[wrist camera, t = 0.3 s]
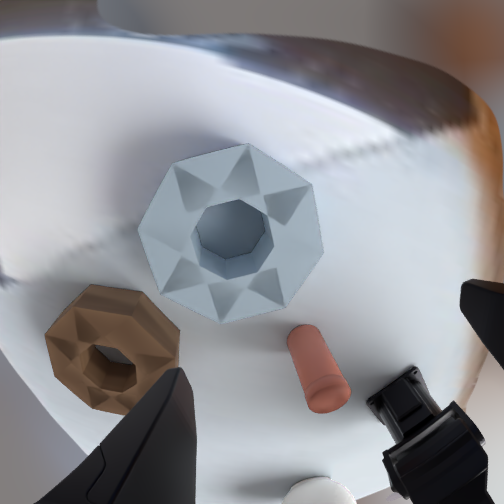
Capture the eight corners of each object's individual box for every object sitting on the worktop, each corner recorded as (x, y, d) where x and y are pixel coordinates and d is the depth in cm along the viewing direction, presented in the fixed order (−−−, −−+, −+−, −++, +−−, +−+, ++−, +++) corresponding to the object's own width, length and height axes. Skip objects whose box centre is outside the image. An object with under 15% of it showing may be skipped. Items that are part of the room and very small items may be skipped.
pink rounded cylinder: (326, 339, 25) (357, 396, 18) (298, 358, 25) (320, 419, 18) (309, 317, 24) (339, 375, 17) (279, 338, 24) (299, 399, 17)
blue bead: (330, 201, 21) (351, 211, 17) (253, 315, 23) (260, 342, 20) (204, 121, 18) (201, 115, 15) (131, 252, 20) (117, 271, 17)
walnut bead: (204, 354, 24) (203, 383, 20) (125, 401, 25) (118, 428, 22) (115, 261, 20) (99, 282, 17) (45, 328, 22) (28, 350, 18)
